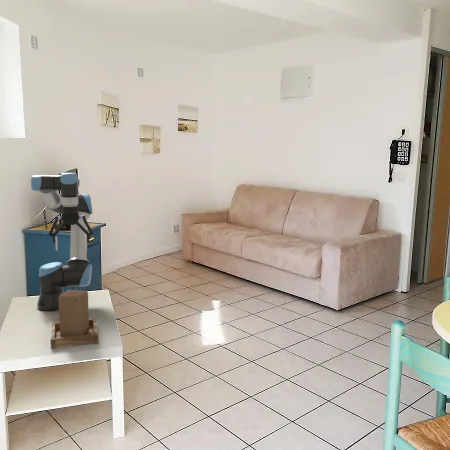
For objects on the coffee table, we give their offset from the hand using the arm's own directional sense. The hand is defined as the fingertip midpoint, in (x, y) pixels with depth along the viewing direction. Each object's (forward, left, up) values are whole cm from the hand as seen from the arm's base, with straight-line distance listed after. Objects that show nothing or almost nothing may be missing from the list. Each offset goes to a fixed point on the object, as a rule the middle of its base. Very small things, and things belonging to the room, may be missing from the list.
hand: (71, 249), depth 230 cm
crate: (+20, 0, -37) cm, 42 cm away
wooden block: (+20, 0, -36) cm, 41 cm away
